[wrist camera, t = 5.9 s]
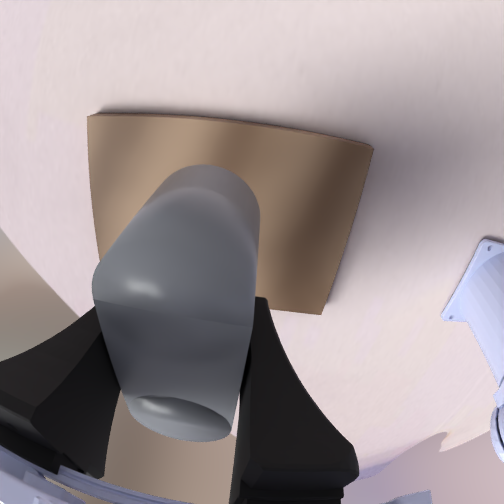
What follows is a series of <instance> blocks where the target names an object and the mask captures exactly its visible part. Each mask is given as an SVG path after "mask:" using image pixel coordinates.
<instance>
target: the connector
mask: <svg viewBox="0 0 504 504" xmlns="http://www.w3.org/2000/svg"><path fill="white" fill-rule="evenodd" d="M259 233H260V209H259V204H258V202H257V199H256V197H255V195H254V193H253V191H252V190H251V189H250V187H249V186H248V185H247V184H246V183H245V182H244V181H243V180H242V179H241V178H240V177H239V176H237V175H236V174H234V173H232V172H231V171H229V170H226V169H224V168H221V167H218V166H213V165H204V164H200V165H192V166H187V167H184V168H182V169H179V170H177V171H176V172H174V173H172V174H171V175H170V176H168V177H167V178H166V179H165V180H164V181H163V183H162V184H161V185H160V186H159V187H158V188H157V190H156V191H155V192H154V193H153V194H152V195H151V197H150V198H149V199H148V200H147V201H146V203H145V204H144V205H143V206H142V208H141V209H140V210H139V211H138V212H137V214H136V215H135V216H134V217H133V219H132V220H131V221H130V223H129V224H128V225H127V226H126V228H125V229H124V230H123V231H122V233H121V234H120V235H119V237H118V238H117V239H116V241H115V242H114V243H113V245H112V246H111V247H110V249H109V250H108V251H107V253H106V254H105V255H104V257H103V258H102V259H101V261H100V262H99V264H98V266H97V267H96V269H95V272H94V275H93V280H92V294H93V300H94V304H95V308H96V312H97V315H98V319H99V323H100V326H101V330H102V333H103V337H104V340H105V343H106V347H107V350H108V353H109V356H110V359H111V362H112V365H113V368H114V371H115V374H116V377H117V380H118V382H119V385H120V388H121V390H122V393H123V396H124V398H125V401H126V403H127V406H128V409H129V411H130V413H131V414H132V416H133V417H134V418H135V419H136V420H137V421H138V422H140V423H141V424H142V425H144V426H145V427H147V428H149V429H151V430H153V431H155V432H157V433H159V434H162V435H165V436H168V437H171V438H175V439H179V440H185V441H194V442H209V441H216V440H219V439H222V438H225V437H226V436H228V435H229V434H230V432H231V429H232V424H233V420H234V415H235V410H236V406H237V401H238V396H239V391H240V387H241V382H242V377H243V372H244V368H245V363H246V358H247V353H248V348H249V343H250V338H251V333H252V328H253V320H254V306H255V292H256V277H257V263H258V248H259Z"/></svg>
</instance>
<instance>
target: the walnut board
mask: <svg viewBox="0 0 504 504" xmlns="http://www.w3.org/2000/svg"><path fill="white" fill-rule="evenodd" d="M87 137H88V161H89V176H90V189H91V199H92V209H93V217H94V225H95V233H96V240H97V246H98V253H99V259H100V261H101V259H102V258H103V257H104V255H105V254H106V253H107V251H108V250H109V249H110V247H111V246H112V245H113V243H114V242H115V241H116V239H117V238H118V237H119V235H120V234H121V233H122V231H123V230H124V229H125V228H126V226H127V225H128V224H129V223H130V221H131V220H132V219H133V217H134V216H135V215H136V214H137V212H138V211H139V210H140V209H141V208H142V206H143V205H144V204H145V203H146V201H147V200H148V199H149V198H150V197H151V195H152V194H153V193H154V192H155V191H156V190H157V188H158V187H159V186H160V185H161V184H162V183H163V181H164V180H165V179H166V178H167V177H168V176H170V175H171V174H172V173H174V172H176V171H177V170H179V169H182V168H184V167H187V166H192V165H200V164H204V165H213V166H218V167H221V168H224V169H226V170H229V171H231V172H232V173H234V174H236V175H237V176H239V177H240V178H241V179H242V180H243V181H244V182H245V183H246V184H247V185H248V186H249V187H250V189H251V190H252V191H253V193H254V195H255V197H256V199H257V202H258V204H259V209H260V233H259V248H258V263H257V277H256V292H255V296H257V297H265V298H266V299H267V300H268V305H269V309H273V310H281V311H289V312H298V313H307V314H316V315H321V314H322V311H323V309H324V306H325V303H326V300H327V298H328V295H329V292H330V290H331V287H332V284H333V281H334V278H335V275H336V273H337V270H338V267H339V264H340V261H341V258H342V255H343V252H344V249H345V246H346V243H347V240H348V237H349V234H350V230H351V227H352V224H353V221H354V217H355V214H356V211H357V208H358V204H359V201H360V197H361V194H362V190H363V187H364V183H365V180H366V176H367V172H368V169H369V165H370V161H371V157H372V154H373V150H374V149H373V148H372V147H371V146H370V145H368V144H364V143H360V142H356V141H352V140H347V139H343V138H338V137H334V136H329V135H324V134H319V133H314V132H309V131H304V130H298V129H292V128H286V127H280V126H274V125H267V124H260V123H253V122H246V121H237V120H229V119H219V118H209V117H197V116H184V115H166V114H138V113H98V114H93V115H90V116H87Z"/></svg>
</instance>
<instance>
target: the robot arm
mask: <svg viewBox="0 0 504 504" xmlns="http://www.w3.org/2000/svg"><path fill="white" fill-rule="evenodd" d="M441 318H442V320H444V321H459V322H467V323H468V325H469V327H470V328H471V330H472V332H473V334H474V336H475V338H476V340H477V342H478V344H479V346H480V348H481V350H482V352H483V354H484V356H485V358H486V360H487V362H488V364H489V366H490V368H491V371H492V373H493V375H494V377H495V380H496V382H497V384H498V386H499V389H498V391H497V392H496V393H495V394H494V395H493V397H494V399H495V402H496V404H497V406H496V407H495V409H494V410H493V412H492V416H491V422H490V431H491V440H492V444H493V447H494V449H495V452H496V454H497V455H498V457H499V458H500V460H501V461H502V462H503V463H504V244H503V243H500V242H496V241H492V240H488V239H483V240H482V241H481V242H480V244H479V246H478V248H477V250H476V252H475V254H474V256H473V258H472V260H471V262H470V264H469V266H468V268H467V270H466V272H465V274H464V276H463V278H462V279H461V281H460V283H459V285H458V287H457V289H456V290H455V292H454V294H453V296H452V297H451V299H450V301H449V303H448V304H447V306H446V308H445V309H444V311H443V313H442V314H441ZM120 390H121V388H120V385H119V382H118V380H117V377H116V374H115V371H114V368H113V365H112V362H111V359H110V356H109V353H108V350H107V347H106V343H105V340H104V337H103V333H102V330H101V326H100V323H99V319H98V315H97V312H96V308H95V306H94V307H93V308H92V309H91V310H89V311H88V312H87V313H86V314H84V315H83V316H82V317H80V318H79V319H78V320H77V321H76V322H74V323H73V324H71V325H70V326H68V327H67V328H66V329H64V330H63V331H61V332H60V333H58V334H56V335H55V336H53V337H52V338H50V339H48V340H46V341H44V342H43V343H41V344H39V345H37V346H35V347H34V348H32V349H29V350H28V351H26V352H23V353H21V354H19V355H16V356H14V357H12V358H9V359H6V360H4V361H1V362H0V503H1V504H86V503H85V501H84V500H82V499H80V498H78V497H76V496H74V495H72V494H70V493H69V492H67V491H66V490H65V489H63V488H61V487H59V486H57V485H55V484H53V483H51V482H49V481H47V480H46V479H45V477H44V476H46V477H48V478H50V479H52V480H54V481H56V482H59V483H61V484H63V485H65V486H68V487H70V488H72V489H75V490H77V491H80V492H82V493H85V494H88V495H90V496H93V497H96V498H98V499H101V500H104V501H107V502H110V503H113V504H192V503H187V502H181V501H176V500H171V499H166V498H161V497H157V496H153V495H149V494H145V493H141V492H137V491H133V490H130V489H126V488H123V487H120V486H116V485H113V484H110V483H107V482H104V481H101V480H98V479H99V478H102V477H103V476H104V471H105V461H106V454H107V447H108V442H109V436H110V431H111V426H112V421H113V417H114V412H115V408H116V404H117V401H118V397H119V393H120ZM43 475H44V476H43ZM358 476H359V465H358V461H357V457H356V453H355V450H354V447H353V445H352V444H351V443H350V442H349V441H348V440H347V439H346V438H345V437H344V436H343V435H342V434H341V433H340V432H339V431H338V430H337V429H336V428H335V427H334V426H333V425H332V423H331V422H330V421H329V420H328V419H327V418H326V416H325V415H324V414H323V413H322V411H321V410H320V409H319V407H318V406H317V405H316V403H315V402H314V401H313V399H312V398H311V397H310V395H309V394H308V392H307V391H306V389H305V388H304V386H303V385H302V383H301V381H300V380H299V378H298V376H297V374H296V373H295V371H294V369H293V367H292V365H291V363H290V361H289V359H288V357H287V355H286V353H285V351H284V349H283V346H282V344H281V342H280V339H279V337H278V334H277V332H276V329H275V326H274V323H273V320H272V317H271V313H270V310H269V305H268V300H267V299H266V298H265V297H257V296H255V306H254V320H253V328H252V333H251V338H250V343H249V348H248V353H247V358H246V363H245V368H244V372H243V377H242V382H241V387H240V407H239V421H238V430H237V440H236V448H235V458H234V466H233V474H232V482H231V490H230V498H229V504H341V498H343V497H344V492H343V487H345V486H346V485H348V484H349V483H351V482H353V481H354V480H355V479H356V478H357V477H358ZM381 504H432V498H431V492H430V490H425V491H421V492H417V493H412V494H408V495H404V496H400V497H397V498H394V499H392V500H390V501H389V502H387V503H381Z"/></svg>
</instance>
